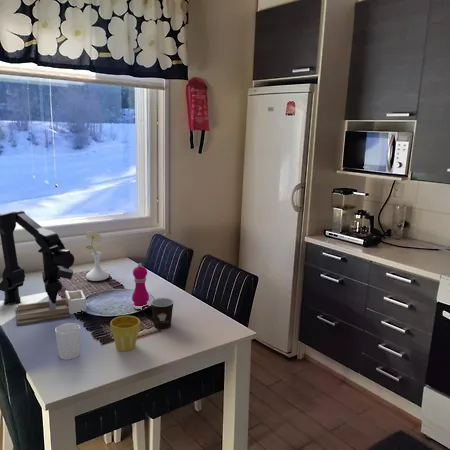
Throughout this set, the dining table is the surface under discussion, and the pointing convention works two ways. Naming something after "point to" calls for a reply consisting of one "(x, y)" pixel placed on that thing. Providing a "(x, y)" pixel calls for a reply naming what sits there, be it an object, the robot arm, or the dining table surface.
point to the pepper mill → (140, 286)
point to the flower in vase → (96, 259)
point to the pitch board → (41, 312)
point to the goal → (75, 300)
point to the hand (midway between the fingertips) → (53, 299)
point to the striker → (51, 305)
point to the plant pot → (125, 332)
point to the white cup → (68, 340)
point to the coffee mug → (161, 312)
